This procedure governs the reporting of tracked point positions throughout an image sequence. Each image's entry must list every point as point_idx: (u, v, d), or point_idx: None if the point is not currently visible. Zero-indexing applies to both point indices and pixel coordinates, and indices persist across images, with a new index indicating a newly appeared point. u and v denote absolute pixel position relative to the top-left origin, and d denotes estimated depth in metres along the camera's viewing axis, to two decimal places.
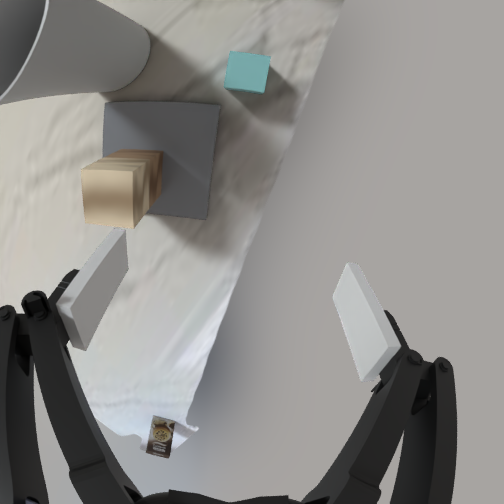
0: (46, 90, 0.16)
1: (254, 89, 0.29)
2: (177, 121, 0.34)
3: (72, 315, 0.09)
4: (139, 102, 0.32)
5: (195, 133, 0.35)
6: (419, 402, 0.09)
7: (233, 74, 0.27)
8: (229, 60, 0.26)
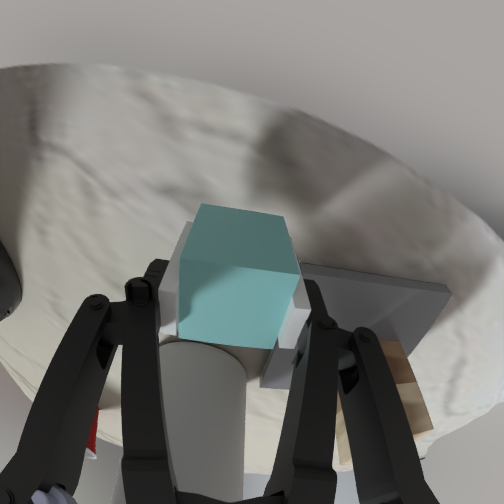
0: None
1: (288, 296, 0.12)
2: None
3: (175, 300, 0.11)
4: (272, 361, 0.28)
5: (340, 305, 0.23)
6: (349, 377, 0.11)
7: (241, 334, 0.13)
8: (203, 339, 0.13)
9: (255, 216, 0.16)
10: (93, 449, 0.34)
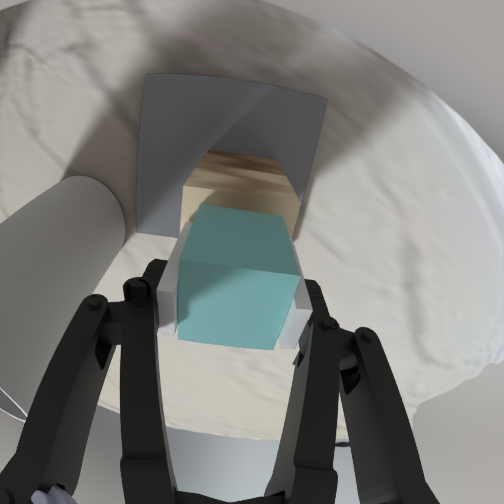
0: (34, 317, 0.13)
1: (288, 297, 0.12)
2: (166, 128, 0.24)
3: (173, 300, 0.11)
4: (137, 183, 0.27)
5: (185, 102, 0.23)
6: (350, 377, 0.11)
7: (241, 335, 0.13)
8: (203, 341, 0.13)
9: (254, 216, 0.15)
10: None
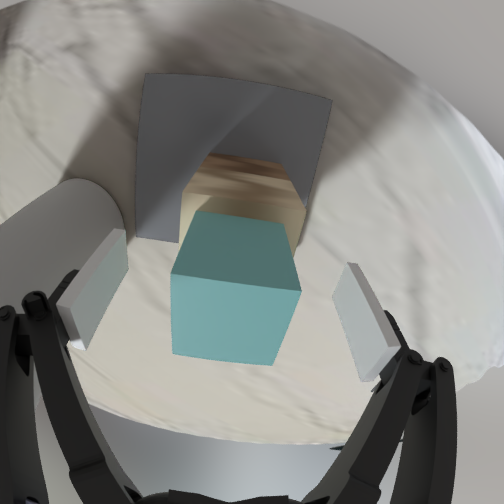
0: None
1: (288, 313, 0.11)
2: (165, 130, 0.23)
3: (72, 315, 0.09)
4: (136, 187, 0.26)
5: (185, 103, 0.22)
6: (419, 402, 0.09)
7: (238, 351, 0.12)
8: (199, 356, 0.12)
9: (253, 223, 0.15)
10: None
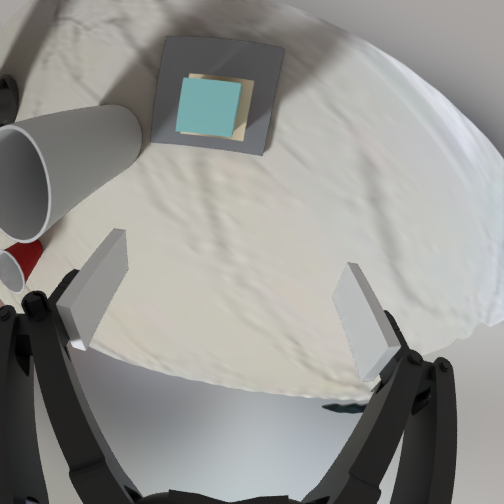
0: (79, 147, 0.22)
1: (236, 96, 0.20)
2: (177, 69, 0.32)
3: (72, 315, 0.09)
4: (155, 106, 0.35)
5: (191, 53, 0.31)
6: (419, 402, 0.09)
7: (211, 124, 0.21)
8: (190, 130, 0.22)
9: None
10: (24, 272, 0.40)
